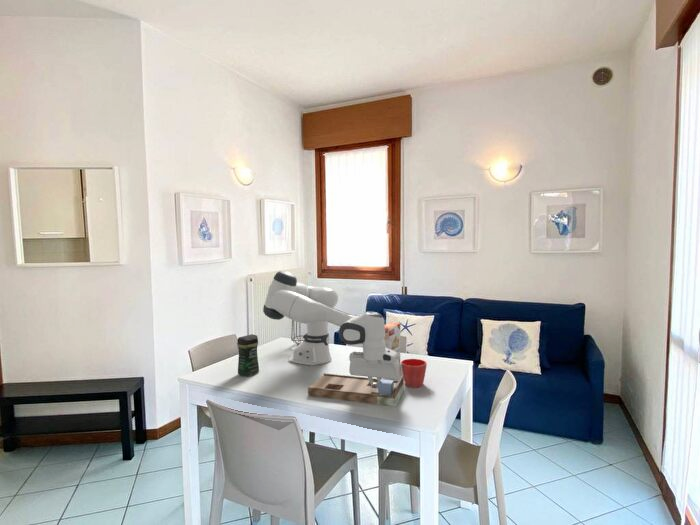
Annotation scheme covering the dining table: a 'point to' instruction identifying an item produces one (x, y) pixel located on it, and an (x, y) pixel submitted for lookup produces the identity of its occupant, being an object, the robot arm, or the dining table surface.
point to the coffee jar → (248, 355)
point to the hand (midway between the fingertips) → (374, 387)
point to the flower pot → (413, 372)
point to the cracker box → (393, 338)
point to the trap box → (354, 389)
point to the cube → (385, 387)
